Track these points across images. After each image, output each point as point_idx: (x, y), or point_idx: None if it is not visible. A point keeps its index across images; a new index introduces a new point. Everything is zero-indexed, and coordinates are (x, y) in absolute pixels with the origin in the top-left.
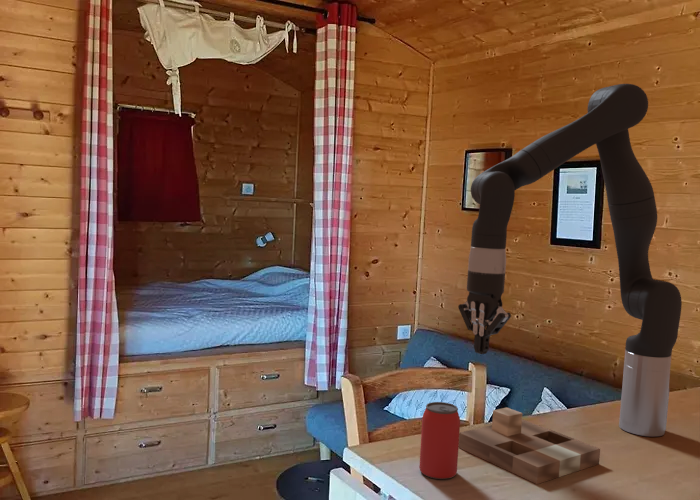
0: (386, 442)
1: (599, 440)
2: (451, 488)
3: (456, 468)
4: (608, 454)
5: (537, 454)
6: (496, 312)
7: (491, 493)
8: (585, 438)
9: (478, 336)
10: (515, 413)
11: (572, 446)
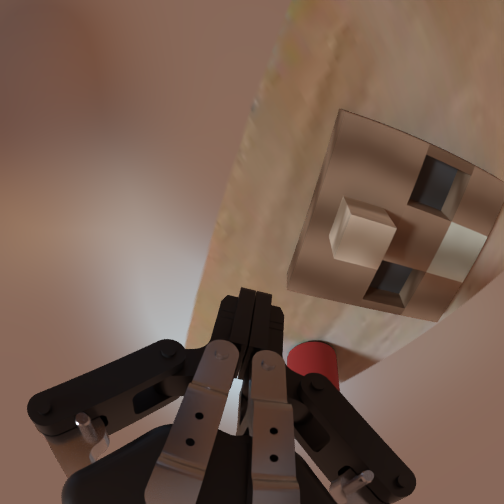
0: (195, 322)
1: (472, 48)
2: (343, 371)
3: (336, 359)
4: (500, 118)
5: (431, 285)
6: (320, 495)
7: (386, 355)
8: (452, 52)
9: (238, 376)
10: (384, 242)
11: (475, 210)
